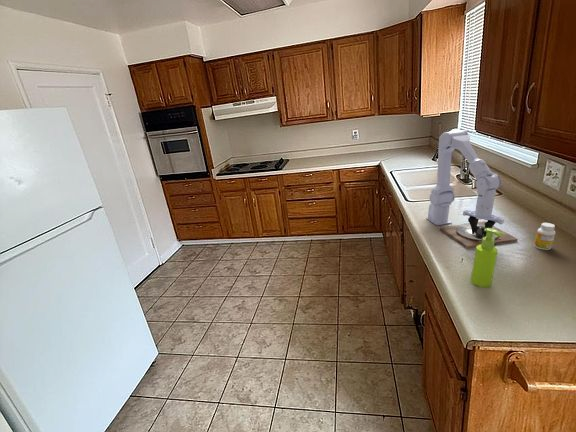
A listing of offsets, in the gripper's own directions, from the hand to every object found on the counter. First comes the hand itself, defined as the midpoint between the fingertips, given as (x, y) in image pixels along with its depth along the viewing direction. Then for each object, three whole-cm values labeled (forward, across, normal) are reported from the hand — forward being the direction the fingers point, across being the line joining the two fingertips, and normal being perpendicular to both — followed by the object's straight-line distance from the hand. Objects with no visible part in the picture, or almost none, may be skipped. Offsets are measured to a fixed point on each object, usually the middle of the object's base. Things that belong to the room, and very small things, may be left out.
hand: (479, 234), depth 126 cm
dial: (+2, -3, +6) cm, 7 cm away
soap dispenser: (+4, +13, -28) cm, 31 cm away
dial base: (+3, -3, +6) cm, 7 cm away
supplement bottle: (+4, +19, +12) cm, 22 cm away
